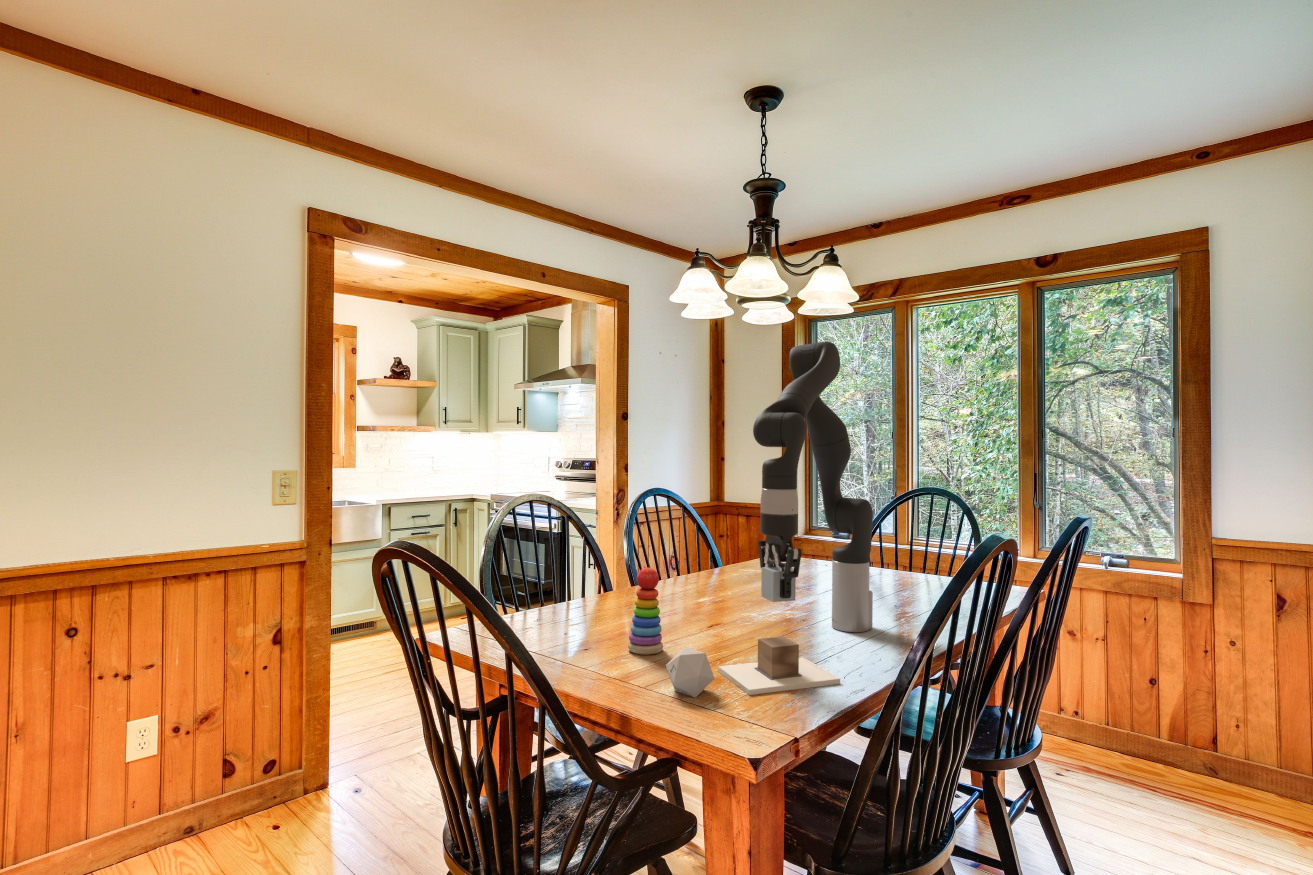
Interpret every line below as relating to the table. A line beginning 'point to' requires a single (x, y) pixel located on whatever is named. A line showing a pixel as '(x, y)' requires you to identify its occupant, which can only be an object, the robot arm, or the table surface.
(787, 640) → the walnut block
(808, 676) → the cream board
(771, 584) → the slate block
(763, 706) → the table surface
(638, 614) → the stacking toy
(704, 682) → the die
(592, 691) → the table surface
